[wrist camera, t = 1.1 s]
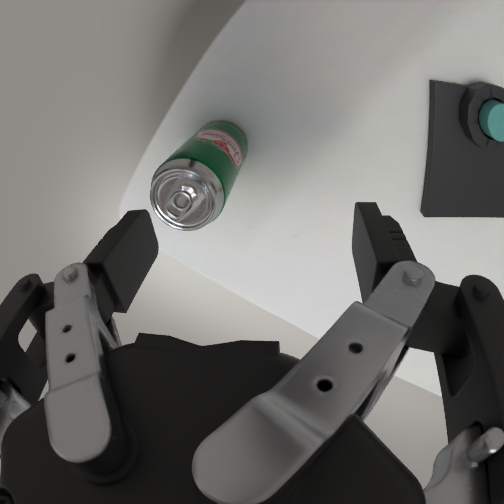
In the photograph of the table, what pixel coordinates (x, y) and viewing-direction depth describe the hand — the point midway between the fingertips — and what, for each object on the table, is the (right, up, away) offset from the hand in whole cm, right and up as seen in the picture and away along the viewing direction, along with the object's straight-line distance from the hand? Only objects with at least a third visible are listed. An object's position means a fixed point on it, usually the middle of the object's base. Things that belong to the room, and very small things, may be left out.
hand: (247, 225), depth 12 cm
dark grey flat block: (+23, +9, +13) cm, 28 cm away
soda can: (-3, +9, +17) cm, 19 cm away
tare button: (+22, +11, +8) cm, 26 cm away
